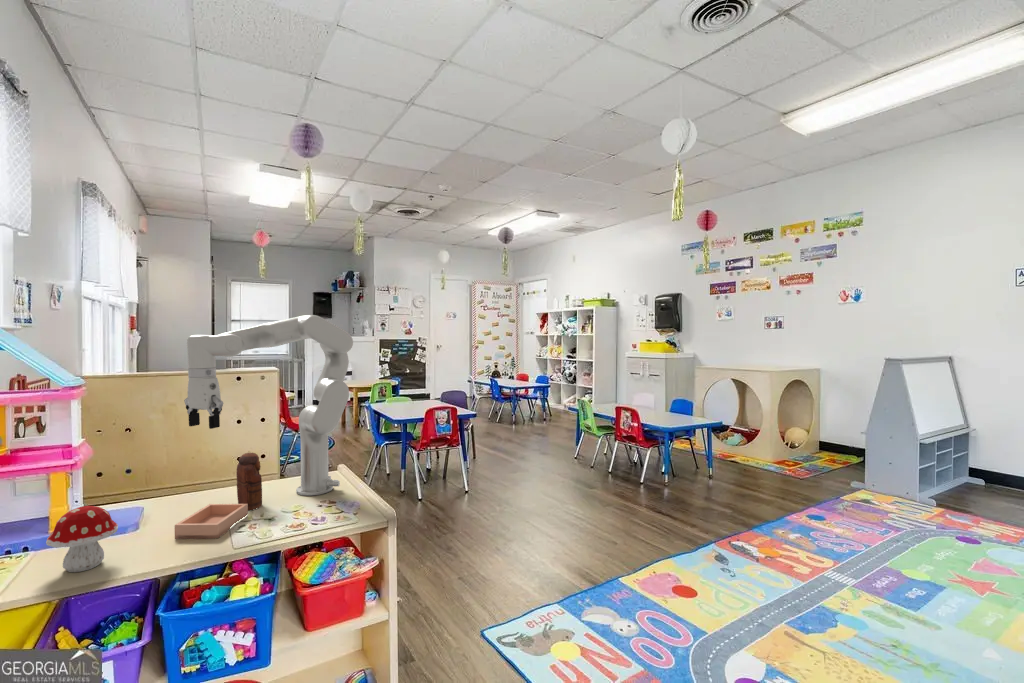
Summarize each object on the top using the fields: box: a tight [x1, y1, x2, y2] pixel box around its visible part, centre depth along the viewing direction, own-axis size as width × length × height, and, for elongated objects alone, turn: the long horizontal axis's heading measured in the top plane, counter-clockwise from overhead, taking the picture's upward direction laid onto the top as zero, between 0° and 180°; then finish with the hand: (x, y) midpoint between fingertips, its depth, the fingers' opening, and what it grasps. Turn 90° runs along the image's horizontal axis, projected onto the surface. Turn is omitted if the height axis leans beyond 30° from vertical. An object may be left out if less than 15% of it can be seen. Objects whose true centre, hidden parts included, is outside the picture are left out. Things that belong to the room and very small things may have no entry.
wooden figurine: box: [236, 452, 263, 512], centre depth 166 cm, size 12×6×18 cm, turn 48°
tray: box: [174, 503, 249, 540], centre depth 148 cm, size 12×17×4 cm
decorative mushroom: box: [45, 505, 119, 573], centre depth 123 cm, size 14×14×15 cm
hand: (204, 426), depth 158 cm, fingers open, 9 cm apart
